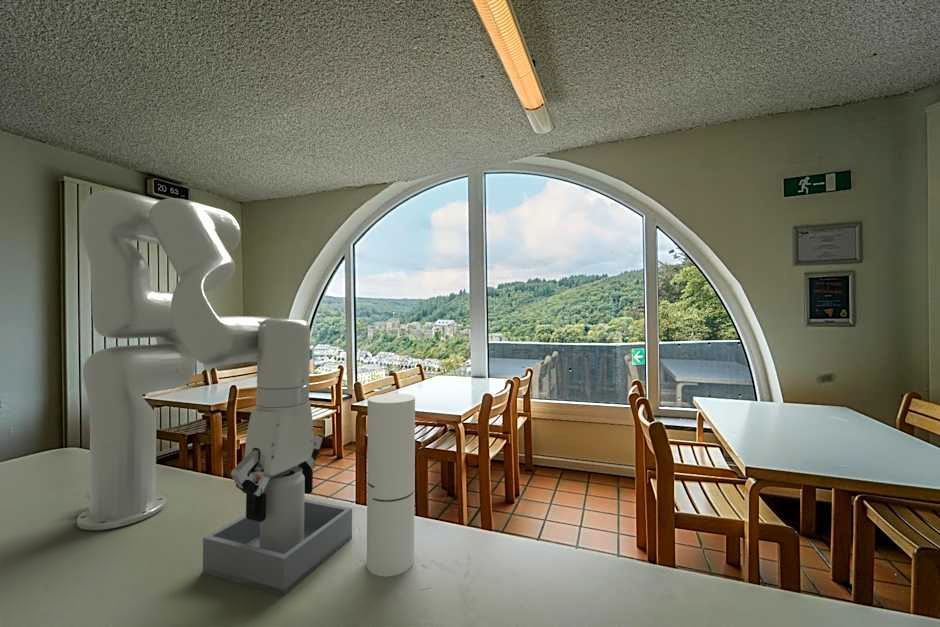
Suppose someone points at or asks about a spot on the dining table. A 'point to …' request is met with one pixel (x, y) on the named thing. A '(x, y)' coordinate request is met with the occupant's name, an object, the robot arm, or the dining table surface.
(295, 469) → the beverage can
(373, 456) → the cylindrical container
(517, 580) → the dining table surface
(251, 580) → the box
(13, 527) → the dining table surface
